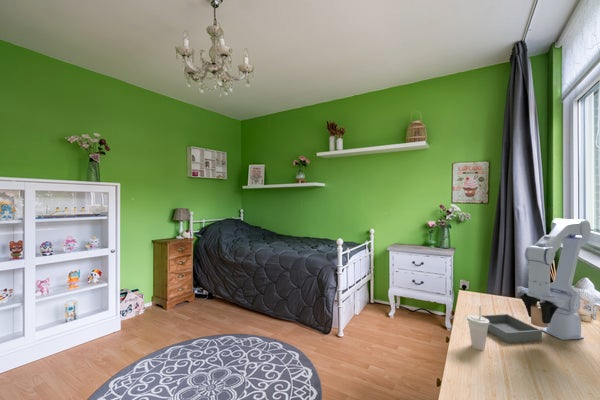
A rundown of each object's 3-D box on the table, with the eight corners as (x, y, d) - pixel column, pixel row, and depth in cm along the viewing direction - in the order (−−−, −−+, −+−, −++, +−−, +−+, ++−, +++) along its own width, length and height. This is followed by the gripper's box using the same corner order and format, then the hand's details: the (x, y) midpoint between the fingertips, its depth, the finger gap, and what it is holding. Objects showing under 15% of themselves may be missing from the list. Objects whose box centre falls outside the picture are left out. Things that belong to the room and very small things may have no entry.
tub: (507, 322, 111) (507, 314, 111) (541, 340, 97) (541, 330, 97) (476, 324, 109) (476, 315, 109) (506, 343, 95) (506, 333, 95)
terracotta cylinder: (538, 321, 97) (538, 304, 97) (551, 327, 92) (551, 309, 92) (527, 322, 96) (527, 305, 96) (539, 327, 92) (539, 310, 92)
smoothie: (493, 353, 89) (493, 310, 89) (471, 351, 90) (471, 309, 90) (484, 343, 95) (484, 303, 95) (464, 341, 96) (464, 301, 96)
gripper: (510, 275, 101) (510, 311, 101) (551, 288, 87) (551, 330, 87) (526, 274, 102) (526, 310, 102) (570, 287, 88) (569, 328, 88)
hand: (539, 319), depth 94 cm, fingers closed on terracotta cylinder, 4 cm apart
